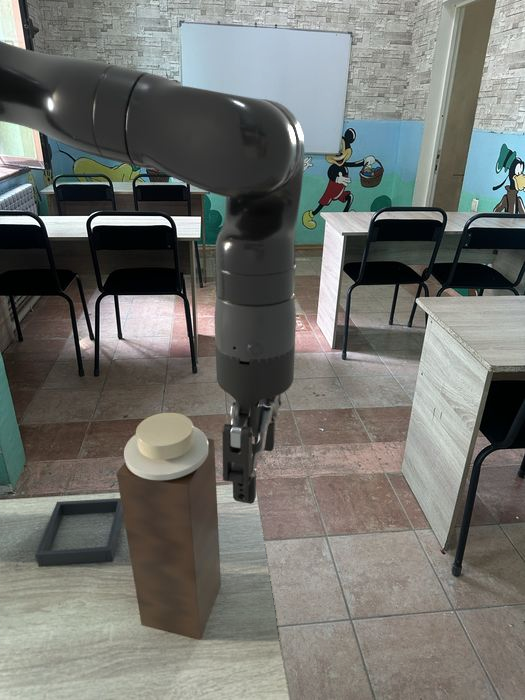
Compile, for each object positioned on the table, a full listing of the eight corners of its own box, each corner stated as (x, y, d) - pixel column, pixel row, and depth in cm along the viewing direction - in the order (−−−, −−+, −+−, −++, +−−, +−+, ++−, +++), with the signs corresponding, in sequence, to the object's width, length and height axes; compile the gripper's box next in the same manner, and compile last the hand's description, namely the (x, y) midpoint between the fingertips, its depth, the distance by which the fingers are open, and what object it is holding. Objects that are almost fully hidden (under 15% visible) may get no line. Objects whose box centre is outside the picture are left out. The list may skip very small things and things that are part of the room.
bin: (40, 572, 69) (35, 555, 67) (61, 518, 78) (56, 501, 77) (113, 567, 70) (110, 550, 68) (125, 514, 79) (123, 497, 78)
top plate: (128, 459, 50) (125, 440, 49) (153, 426, 55) (151, 409, 54) (181, 468, 49) (180, 449, 48) (202, 434, 54) (201, 416, 53)
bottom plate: (109, 475, 50) (107, 466, 49) (148, 425, 57) (147, 417, 57) (191, 490, 48) (190, 481, 47) (219, 437, 55) (219, 428, 55)
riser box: (142, 631, 61) (116, 473, 50) (168, 578, 68) (150, 428, 57) (201, 646, 60) (188, 486, 48) (221, 590, 67) (214, 439, 55)
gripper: (238, 307, 52) (240, 430, 59) (189, 368, 40) (199, 514, 47) (306, 314, 50) (300, 439, 58) (278, 379, 38) (274, 528, 45)
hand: (255, 472), depth 52 cm, fingers open, 8 cm apart
